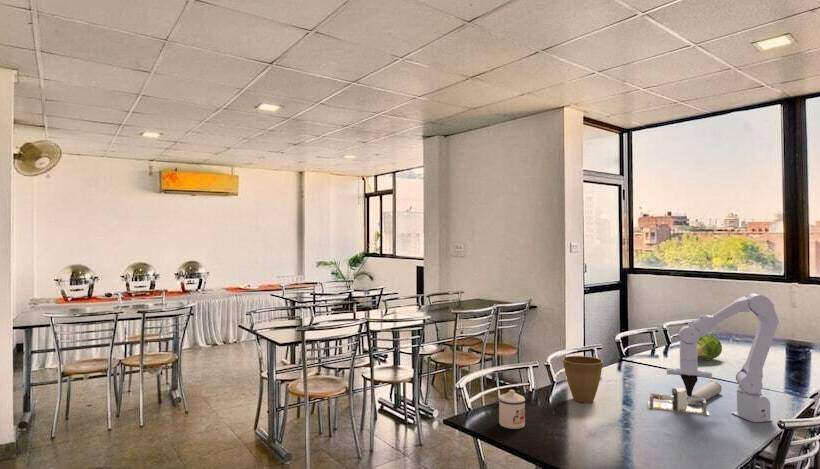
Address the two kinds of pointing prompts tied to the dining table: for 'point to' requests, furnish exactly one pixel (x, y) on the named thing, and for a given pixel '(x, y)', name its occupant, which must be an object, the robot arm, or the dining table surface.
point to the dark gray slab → (675, 398)
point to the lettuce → (708, 347)
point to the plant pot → (583, 376)
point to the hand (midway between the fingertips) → (689, 395)
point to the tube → (706, 391)
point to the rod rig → (670, 407)
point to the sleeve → (682, 398)
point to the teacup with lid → (512, 410)
